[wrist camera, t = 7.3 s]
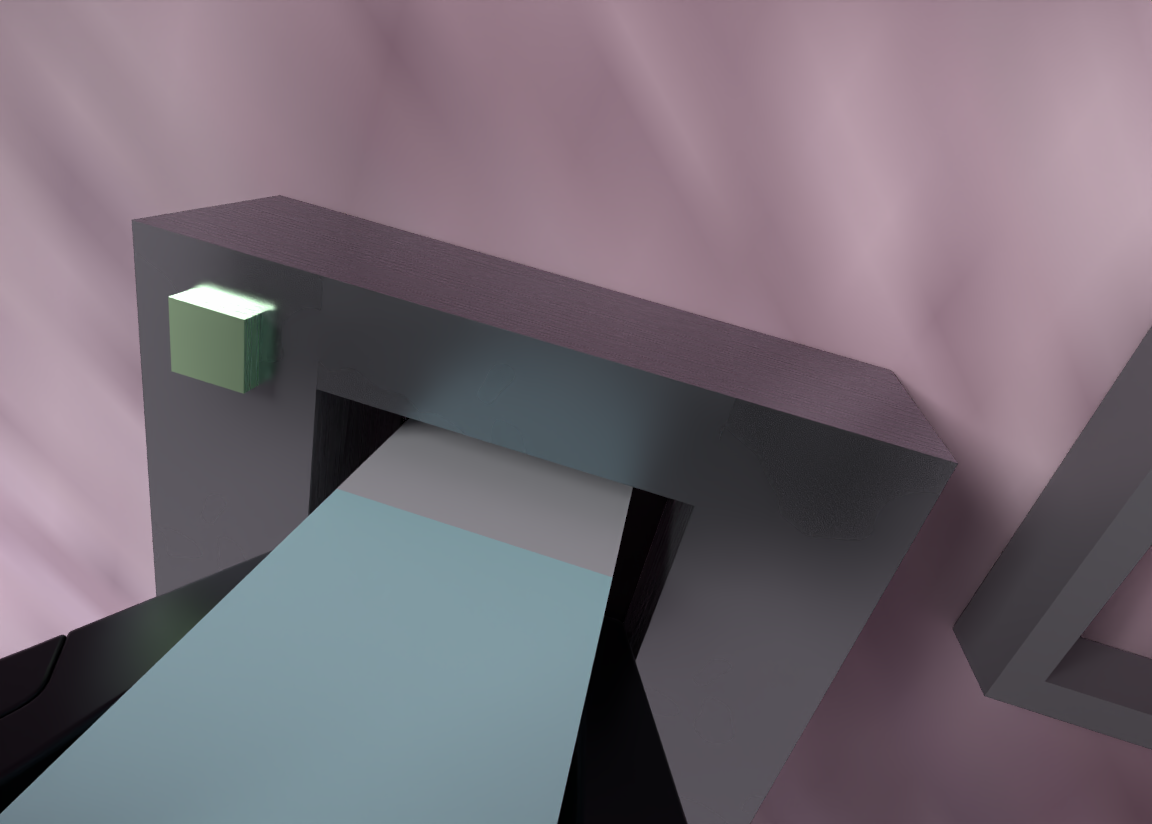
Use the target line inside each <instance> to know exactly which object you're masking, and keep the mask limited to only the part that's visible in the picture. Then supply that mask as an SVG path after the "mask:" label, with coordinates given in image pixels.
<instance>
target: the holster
mask: <svg viewBox="0 0 1152 824" xmlns="http://www.w3.org/2000/svg"><path fill="white" fill-rule="evenodd" d="M1151 545H1152V327H1151V328H1150V330H1149V331H1148V333H1147V334H1146V336H1145V337H1144V339H1143V340H1142V342H1141V343H1140V345H1139V346H1138V348H1137V349H1136V351H1135V352H1134V354H1133V355H1132V357H1131V358H1130V360H1129V361H1128V363H1127V364H1126V366H1125V367H1124V369H1123V370H1122V372H1121V374H1120V375H1119V377H1118V378H1117V380H1116V381H1115V383H1114V384H1113V386H1112V387H1111V389H1110V390H1109V392H1108V393H1107V395H1106V396H1105V398H1104V399H1103V401H1102V402H1101V404H1100V405H1099V407H1098V408H1097V410H1096V411H1095V413H1094V414H1093V416H1092V418H1091V419H1090V421H1089V422H1088V424H1087V425H1086V427H1085V428H1084V430H1083V431H1082V433H1081V434H1080V436H1079V437H1078V439H1077V440H1076V442H1075V443H1074V445H1073V446H1072V448H1071V449H1070V451H1069V452H1068V454H1067V455H1066V457H1065V458H1064V460H1063V461H1062V463H1061V465H1060V466H1059V468H1058V469H1057V471H1056V472H1055V474H1054V475H1053V477H1052V478H1051V480H1050V481H1049V483H1048V484H1047V486H1046V487H1045V489H1044V490H1043V492H1042V493H1041V495H1040V496H1039V498H1038V499H1037V501H1036V502H1035V504H1034V505H1033V507H1032V508H1031V510H1030V512H1029V513H1028V515H1027V516H1026V518H1025V519H1024V521H1023V522H1022V524H1021V525H1020V527H1019V528H1018V530H1017V531H1016V533H1015V534H1014V536H1013V537H1012V539H1011V540H1010V542H1009V543H1008V545H1007V546H1006V548H1005V549H1004V551H1003V552H1002V554H1001V556H1000V557H999V559H998V560H997V562H996V563H995V565H994V566H993V568H992V569H991V571H990V572H989V574H988V575H987V577H986V578H985V580H984V581H983V583H982V584H981V586H980V587H979V589H978V590H977V592H976V593H975V595H974V596H973V598H972V599H971V601H970V603H969V604H968V606H967V607H966V609H965V610H964V612H963V613H962V615H961V616H960V618H959V619H958V621H957V622H956V624H955V625H954V627H953V630H954V633H955V635H956V637H957V639H958V641H959V643H960V645H961V647H962V650H963V652H964V654H965V656H966V658H967V660H968V662H969V664H970V666H971V669H972V671H973V673H974V675H975V677H976V679H977V681H978V683H979V685H980V688H981V690H982V692H983V694H984V696H986V697H989V698H992V699H996V700H999V701H1002V702H1005V703H1008V704H1011V705H1014V706H1017V707H1021V708H1024V709H1027V710H1030V711H1033V712H1036V713H1039V714H1042V715H1045V716H1049V717H1052V718H1055V719H1058V720H1061V721H1064V722H1067V723H1070V724H1074V725H1077V726H1080V727H1083V728H1086V729H1089V730H1092V731H1095V732H1099V733H1102V734H1105V735H1108V736H1111V737H1114V738H1117V739H1120V740H1124V741H1127V742H1130V743H1133V744H1136V745H1139V746H1142V747H1145V748H1149V749H1152V659H1149V658H1146V657H1143V656H1139V655H1136V654H1133V653H1130V652H1127V651H1123V650H1120V649H1117V648H1114V647H1110V646H1107V645H1104V644H1101V643H1097V642H1094V641H1091V640H1088V639H1085V638H1081V637H1080V636H1081V634H1082V633H1083V632H1084V631H1085V629H1086V628H1087V627H1088V625H1089V624H1090V623H1091V622H1092V620H1093V619H1094V618H1095V617H1096V615H1097V614H1098V613H1099V611H1100V610H1101V609H1102V608H1103V606H1104V605H1105V604H1106V602H1107V601H1108V600H1109V599H1110V597H1111V596H1112V595H1113V593H1114V592H1115V591H1116V590H1117V588H1118V587H1119V586H1120V585H1121V583H1122V582H1123V581H1124V579H1125V578H1126V577H1127V576H1128V574H1129V573H1130V572H1131V570H1132V569H1133V568H1134V567H1135V565H1136V564H1137V563H1138V561H1139V560H1140V559H1141V558H1142V556H1143V555H1144V554H1145V553H1146V551H1147V550H1148V549H1149V547H1150V546H1151Z"/></svg>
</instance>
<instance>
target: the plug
mask: <svg viewBox="0 0 1152 824" xmlns="http://www.w3.org/2000/svg"><path fill="white" fill-rule="evenodd" d="M632 489H633V487H632V486H628V485H625V484H622V483H619V482H615V481H612V480H609V479H606V478H603V477H599V476H596V475H593V474H590V473H586V472H583V471H580V470H577V469H573V468H570V467H567V466H564V465H560V464H557V463H554V462H551V461H547V460H544V459H541V458H538V457H534V456H531V455H528V454H525V453H522V452H518V451H515V450H512V449H509V448H505V447H502V446H499V445H496V444H492V443H489V442H486V441H483V440H479V439H476V438H473V437H470V436H466V435H463V434H460V433H457V432H454V431H450V430H447V429H444V428H441V427H437V426H434V425H431V424H428V423H424V422H421V421H418V420H415V419H411V418H409V419H408V420H407V421H406V422H405V423H404V424H403V425H402V426H401V427H400V428H399V429H398V430H397V431H396V432H395V433H394V434H393V435H392V436H391V437H390V438H389V439H388V440H387V441H386V442H384V443H383V444H382V445H381V446H380V447H379V448H378V449H377V450H376V451H375V452H374V453H373V454H372V455H371V456H370V457H369V458H368V459H367V460H366V461H365V462H364V463H363V464H362V465H361V466H360V467H359V468H358V469H357V470H356V471H354V472H353V473H352V474H351V475H350V476H349V477H348V478H347V479H346V480H345V481H344V482H343V483H342V484H341V485H340V486H339V487H338V488H337V489H336V490H335V491H334V492H333V493H332V494H331V495H330V496H329V497H328V498H327V499H326V500H324V501H323V502H322V503H321V504H320V505H319V506H318V507H317V508H316V509H315V510H314V511H313V512H312V513H311V514H310V515H309V516H308V517H307V518H306V519H305V520H304V521H303V522H302V523H301V524H300V525H299V526H298V527H297V528H296V529H295V530H293V531H292V532H291V533H290V534H289V535H288V536H287V537H286V538H285V539H284V540H283V541H282V542H281V543H280V544H279V545H278V546H277V547H276V548H275V549H274V550H273V551H272V552H271V553H270V554H269V555H268V556H267V557H266V558H265V559H263V560H262V561H261V562H260V563H259V564H258V565H257V566H256V567H255V568H254V569H253V570H252V571H251V572H250V573H249V574H248V575H247V576H246V577H245V578H244V579H243V580H242V581H241V582H240V583H239V584H238V585H237V586H236V587H235V588H233V589H232V590H231V591H230V592H229V593H228V594H227V595H226V596H225V597H224V598H223V599H222V600H221V601H220V602H219V603H218V604H217V605H216V606H215V607H214V608H213V609H212V610H211V611H210V612H209V613H208V614H207V615H206V616H205V617H204V618H202V619H201V620H200V621H199V622H198V623H197V624H196V625H195V626H194V627H193V628H192V629H191V630H190V631H189V632H188V633H187V634H186V635H185V636H184V637H183V638H182V639H181V640H180V641H179V642H178V643H177V644H176V645H175V646H174V647H172V648H171V649H170V650H169V651H168V652H167V653H166V654H165V655H164V656H163V657H162V658H161V659H160V660H159V661H158V662H157V663H156V664H155V665H154V666H153V667H152V668H151V669H150V670H149V671H148V672H147V673H146V674H145V675H144V676H142V677H141V678H140V679H139V680H138V681H137V682H136V683H135V684H134V685H133V686H132V687H131V688H130V689H129V690H128V691H127V692H126V693H125V694H124V695H123V696H122V697H121V698H120V699H119V700H118V701H117V702H116V703H115V704H114V705H112V706H111V707H110V708H109V709H108V710H107V711H106V712H105V713H104V714H103V715H102V716H101V717H100V718H99V719H98V720H97V721H96V722H95V723H94V724H93V725H92V726H91V727H90V728H89V729H88V730H87V731H86V732H85V733H84V734H83V735H81V736H80V737H79V738H78V739H77V740H76V741H75V742H74V743H73V744H72V745H71V746H70V747H69V748H68V749H67V750H66V751H65V752H64V753H63V754H62V755H61V756H60V757H59V758H58V759H57V760H56V761H55V762H54V763H53V764H51V765H50V766H49V767H48V768H47V769H46V770H45V771H44V772H43V773H42V774H41V775H40V776H39V777H38V778H37V779H36V780H35V781H34V782H33V783H32V784H31V785H30V786H29V787H28V788H27V789H26V790H25V791H24V792H23V793H21V794H20V795H19V796H18V797H17V798H16V799H15V800H14V801H13V802H12V803H11V804H10V805H9V806H8V807H7V808H6V809H5V810H4V811H3V812H2V813H1V814H0V824H557V822H558V817H559V813H560V809H561V804H562V800H563V795H564V791H565V786H566V782H567V777H568V773H569V769H570V764H571V760H572V755H573V751H574V746H575V742H576V738H577V733H578V729H579V724H580V720H581V715H582V711H583V706H584V702H585V698H586V693H587V689H588V684H589V680H590V675H591V671H592V666H593V662H594V658H595V653H596V649H597V644H598V640H599V635H600V631H601V626H602V622H603V618H604V613H605V609H606V604H607V600H608V595H609V591H610V586H611V582H612V578H613V573H614V569H615V564H616V560H617V555H618V551H619V546H620V542H621V538H622V533H623V529H624V524H625V520H626V515H627V511H628V506H629V502H630V498H631V493H632Z"/></svg>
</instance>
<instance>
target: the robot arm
mask: <svg viewBox="0 0 1152 824" xmlns="http://www.w3.org/2000/svg"><path fill="white" fill-rule="evenodd" d="M272 551H273V550H271V551H269V552H266V553H264V554H261V555H259V556H256V557H254V558H251V559H249V560H246V561H244V562H241V563H239V564H236V565H234V566H232V567H229V568H227V569H224V570H222V571H219V572H217V573H214V574H212V575H209V576H207V577H204V578H202V579H199V580H197V581H194V582H192V583H189V584H187V585H184V586H182V587H179V588H177V589H174V590H172V591H169V592H167V593H164V594H162V595H159V596H157V597H154V598H152V599H149V600H147V601H144V602H142V603H140V604H137V605H135V606H132V607H130V608H127V609H125V610H122V611H120V612H117V613H115V614H112V615H110V616H107V617H105V618H102V619H100V620H97V621H95V622H92V623H90V624H87V625H85V626H82V627H80V628H77V629H75V630H72V631H70V632H69V633H68V635H67V637H66V636H65V635H59V636H57V637H54V638H52V639H49V640H47V641H44V642H42V643H40V644H37V645H35V646H32V647H30V648H27V649H25V650H22V651H19V652H17V653H14V654H11V655H9V656H6V657H4V658H1V659H0V814H1V813H2V812H3V811H4V810H5V809H6V808H7V807H8V806H9V805H10V804H11V803H12V802H13V801H14V800H15V799H16V798H17V797H18V796H19V795H20V794H21V793H23V792H24V791H25V790H26V789H27V788H28V787H29V786H30V785H31V784H32V783H33V782H34V781H35V780H36V779H37V778H38V777H39V776H40V775H41V774H42V773H43V772H44V771H45V770H46V769H47V768H48V767H49V766H50V765H51V764H53V763H54V762H55V761H56V760H57V759H58V758H59V757H60V756H61V755H62V754H63V753H64V752H65V751H66V750H67V749H68V748H69V747H70V746H71V745H72V744H73V743H74V742H75V741H76V740H77V739H78V738H79V737H80V736H81V735H83V734H84V733H85V732H86V731H87V730H88V729H89V728H90V727H91V726H92V725H93V724H94V723H95V722H96V721H97V720H98V719H99V718H100V717H101V716H102V715H103V714H104V713H105V712H106V711H107V710H108V709H109V708H110V707H111V706H112V705H114V704H115V703H116V702H117V701H118V700H119V699H120V698H121V697H122V696H123V695H124V694H125V693H126V692H127V691H128V690H129V689H130V688H131V687H132V686H133V685H134V684H135V683H136V682H137V681H138V680H139V679H140V678H141V677H142V676H144V675H145V674H146V673H147V672H148V671H149V670H150V669H151V668H152V667H153V666H154V665H155V664H156V663H157V662H158V661H159V660H160V659H161V658H162V657H163V656H164V655H165V654H166V653H167V652H168V651H169V650H170V649H171V648H172V647H174V646H175V645H176V644H177V643H178V642H179V641H180V640H181V639H182V638H183V637H184V636H185V635H186V634H187V633H188V632H189V631H190V630H191V629H192V628H193V627H194V626H195V625H196V624H197V623H198V622H199V621H200V620H201V619H202V618H204V617H205V616H206V615H207V614H208V613H209V612H210V611H211V610H212V609H213V608H214V607H215V606H216V605H217V604H218V603H219V602H220V601H221V600H222V599H223V598H224V597H225V596H226V595H227V594H228V593H229V592H230V591H231V590H232V589H233V588H235V587H236V586H237V585H238V584H239V583H240V582H241V581H242V580H243V579H244V578H245V577H246V576H247V575H248V574H249V573H250V572H251V571H252V570H253V569H254V568H255V567H256V566H257V565H258V564H259V563H260V562H261V561H262V560H263V559H265V558H266V557H267V556H268V555H269V554H270V553H271V552H272ZM557 824H688V823H687V820H686V817H685V814H684V810H683V807H682V804H681V801H680V798H679V795H678V792H677V789H676V786H675V782H674V779H673V776H672V773H671V770H670V767H669V764H668V761H667V758H666V754H665V751H664V748H663V745H662V742H661V739H660V736H659V733H658V730H657V727H656V723H655V720H654V717H653V714H652V711H651V708H650V705H649V702H648V699H647V695H646V692H645V689H644V686H643V683H642V680H641V677H640V674H639V671H638V667H637V664H636V661H635V658H634V655H633V652H632V649H631V646H630V643H629V639H628V636H627V633H626V630H625V627H624V625H623V623H622V622H621V621H620V620H617V619H614V618H611V617H608V616H605V615H604V618H603V622H602V626H601V631H600V635H599V640H598V644H597V649H596V653H595V658H594V662H593V666H592V671H591V675H590V680H589V684H588V689H587V693H586V698H585V702H584V706H583V711H582V715H581V720H580V724H579V729H578V733H577V738H576V742H575V746H574V751H573V755H572V760H571V764H570V769H569V773H568V777H567V782H566V786H565V791H564V795H563V800H562V804H561V809H560V813H559V817H558V822H557Z"/></svg>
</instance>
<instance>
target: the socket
mask: <svg viewBox="0 0 1152 824" xmlns="http://www.w3.org/2000/svg"><path fill="white" fill-rule="evenodd" d="M132 231H133V246H134V262H135V277H136V292H137V307H138V323H139V338H140V353H141V368H142V384H143V399H144V414H145V429H146V445H147V460H148V475H149V491H150V506H151V521H152V536H153V552H154V567H155V582H156V597H157V596H159V595H162V594H164V593H167V592H169V591H172V590H174V589H177V588H179V587H182V586H184V585H187V584H189V583H192V582H194V581H197V580H199V579H202V578H204V577H207V576H209V575H212V574H214V573H217V572H219V571H222V570H224V569H227V568H229V567H232V566H234V565H236V564H239V563H241V562H244V561H246V560H249V559H251V558H254V557H256V556H259V555H261V554H264V553H266V552H269V551H271V550H274V549H275V548H276V547H277V546H278V545H279V544H280V543H281V542H282V541H283V540H284V539H285V538H286V537H287V536H288V535H289V534H290V533H291V532H292V531H293V530H295V529H296V528H297V527H298V526H299V525H300V524H301V523H302V522H303V521H304V520H305V519H306V518H307V517H308V516H309V515H310V514H311V513H312V512H313V511H314V510H315V509H316V508H317V507H318V506H319V505H320V504H321V503H322V502H323V501H324V500H326V499H327V498H328V497H329V496H330V495H331V494H332V493H333V492H334V491H335V490H336V489H337V488H338V487H339V486H340V485H341V484H342V483H343V482H344V481H345V480H346V479H347V478H348V477H349V476H350V475H351V474H352V473H353V472H354V471H356V470H357V469H358V468H359V467H360V466H361V465H362V464H363V463H364V462H365V461H366V460H367V459H368V458H369V457H370V456H371V455H372V454H373V453H374V452H375V451H376V450H377V449H378V448H379V447H380V446H381V445H382V444H383V443H384V442H386V441H387V440H388V439H389V438H390V437H391V436H392V435H393V434H394V433H395V432H396V431H397V430H398V429H399V428H400V421H401V415H402V416H405V417H408V418H411V419H415V420H418V421H421V422H424V423H428V424H431V425H434V426H437V427H441V428H444V429H447V430H450V431H454V432H457V433H460V434H463V435H466V436H470V437H473V438H476V439H479V440H483V441H486V442H489V443H492V444H496V445H499V446H502V447H505V448H509V449H512V450H515V451H518V452H522V453H525V454H528V455H531V456H534V457H538V458H541V459H544V460H547V461H551V462H554V463H557V464H560V465H564V466H567V467H570V468H573V469H577V470H580V471H583V472H586V473H590V474H593V475H596V476H599V477H603V478H606V479H609V480H612V481H615V482H619V483H622V484H625V485H628V486H632V487H635V488H638V489H641V490H645V491H648V492H651V493H654V494H658V495H661V496H664V497H667V498H668V499H667V502H666V505H665V507H664V510H663V513H662V516H661V519H660V521H659V524H658V527H657V530H656V533H655V535H654V538H653V541H652V544H651V547H650V549H649V552H648V555H647V558H646V561H645V563H644V566H643V569H642V572H641V575H640V577H639V580H638V583H637V586H636V589H635V591H634V594H633V597H632V600H631V603H630V605H629V608H628V611H627V614H626V617H625V619H624V622H623V625H624V627H625V630H626V633H627V636H628V639H629V643H630V646H631V649H632V652H633V655H634V658H635V661H636V664H637V667H638V671H639V674H640V677H641V680H642V683H643V686H644V689H645V692H646V695H647V699H648V702H649V705H650V708H651V711H652V714H653V717H654V720H655V723H656V727H657V730H658V733H659V736H660V739H661V742H662V745H663V748H664V751H665V754H666V758H667V761H668V764H669V767H670V770H671V773H672V776H673V779H674V782H675V786H676V789H677V792H678V795H679V798H680V801H681V804H682V807H683V810H684V814H685V817H686V820H687V823H688V824H750V823H751V821H752V819H753V818H754V816H755V814H756V812H757V811H758V809H759V807H760V805H761V804H762V802H763V800H764V799H765V797H766V795H767V793H768V792H769V790H770V788H771V786H772V785H773V783H774V781H775V779H776V778H777V776H778V774H779V773H780V771H781V769H782V767H783V766H784V764H785V762H786V760H787V759H788V757H789V755H790V754H791V752H792V750H793V748H794V747H795V745H796V743H797V741H798V740H799V738H800V736H801V734H802V733H803V731H804V729H805V728H806V726H807V724H808V722H809V721H810V719H811V717H812V715H813V714H814V712H815V710H816V709H817V707H818V705H819V703H820V702H821V700H822V698H823V696H824V695H825V693H826V691H827V689H828V688H829V686H830V684H831V683H832V681H833V679H834V677H835V676H836V674H837V672H838V670H839V669H840V667H841V665H842V663H843V662H844V660H845V658H846V657H847V655H848V653H849V651H850V650H851V648H852V646H853V644H854V643H855V641H856V639H857V638H858V636H859V634H860V632H861V631H862V629H863V627H864V625H865V624H866V622H867V620H868V618H869V617H870V615H871V613H872V612H873V610H874V608H875V606H876V605H877V603H878V601H879V599H880V598H881V596H882V594H883V592H884V591H885V589H886V587H887V586H888V584H889V582H890V580H891V579H892V577H893V575H894V573H895V572H896V570H897V568H898V567H899V565H900V563H901V561H902V560H903V558H904V556H905V554H906V553H907V551H908V549H909V547H910V546H911V544H912V542H913V541H914V539H915V537H916V535H917V534H918V532H919V530H920V528H921V527H922V525H923V523H924V521H925V520H926V518H927V516H928V515H929V513H930V511H931V509H932V508H933V506H934V504H935V502H936V501H937V499H938V497H939V496H940V494H941V492H942V490H943V489H944V487H945V485H946V483H947V482H948V480H949V478H950V476H951V475H952V473H953V471H954V470H955V468H956V466H957V464H958V463H957V461H956V460H955V458H954V457H953V456H952V454H951V453H950V452H949V450H948V449H947V447H946V446H945V445H944V443H943V442H942V440H941V439H940V438H939V436H938V435H937V433H936V432H935V431H934V429H933V428H932V426H931V425H930V424H929V422H928V421H927V419H926V418H925V417H924V415H923V414H922V413H921V411H920V410H919V408H918V407H917V406H916V404H915V403H914V401H913V400H912V399H911V397H910V396H909V394H908V393H907V392H906V390H905V389H904V387H903V386H902V385H901V383H900V382H899V381H898V379H897V378H896V376H895V375H894V374H893V372H892V371H891V370H888V369H885V368H881V367H878V366H874V365H871V364H867V363H864V362H860V361H857V360H853V359H850V358H847V357H843V356H840V355H836V354H833V353H829V352H826V351H822V350H819V349H815V348H812V347H808V346H805V345H801V344H798V343H794V342H791V341H787V340H784V339H780V338H777V337H773V336H770V335H766V334H763V333H759V332H756V331H752V330H749V329H745V328H742V327H738V326H735V325H731V324H728V323H724V322H721V321H717V320H714V319H710V318H707V317H703V316H700V315H696V314H693V313H689V312H686V311H682V310H679V309H675V308H672V307H668V306H665V305H661V304H658V303H654V302H651V301H647V300H644V299H641V298H637V297H634V296H630V295H627V294H623V293H620V292H616V291H613V290H609V289H606V288H602V287H599V286H595V285H592V284H588V283H585V282H581V281H578V280H574V279H571V278H567V277H564V276H560V275H557V274H553V273H550V272H546V271H543V270H539V269H536V268H532V267H529V266H525V265H522V264H518V263H515V262H511V261H508V260H504V259H501V258H497V257H494V256H490V255H487V254H483V253H480V252H476V251H473V250H469V249H466V248H462V247H459V246H455V245H452V244H448V243H445V242H441V241H438V240H434V239H431V238H428V237H424V236H421V235H417V234H414V233H410V232H407V231H403V230H400V229H396V228H393V227H389V226H386V225H382V224H379V223H375V222H372V221H368V220H365V219H361V218H358V217H354V216H351V215H347V214H344V213H340V212H337V211H333V210H330V209H326V208H323V207H319V206H316V205H312V204H309V203H305V202H302V201H298V200H295V199H291V198H288V197H284V196H281V195H278V196H272V197H266V198H260V199H254V200H248V201H242V202H236V203H230V204H224V205H218V206H212V207H206V208H200V209H194V210H188V211H182V212H176V213H170V214H164V215H158V216H152V217H146V218H140V219H134V220H132Z"/></svg>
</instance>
